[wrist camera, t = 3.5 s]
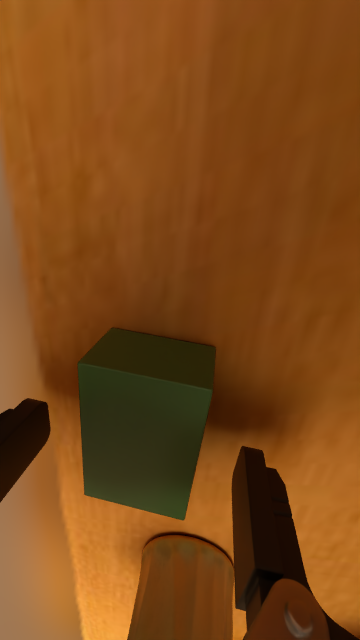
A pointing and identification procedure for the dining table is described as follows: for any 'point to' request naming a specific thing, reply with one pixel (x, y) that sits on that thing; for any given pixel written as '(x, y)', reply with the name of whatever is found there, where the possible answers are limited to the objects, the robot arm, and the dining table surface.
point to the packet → (144, 419)
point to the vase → (183, 592)
